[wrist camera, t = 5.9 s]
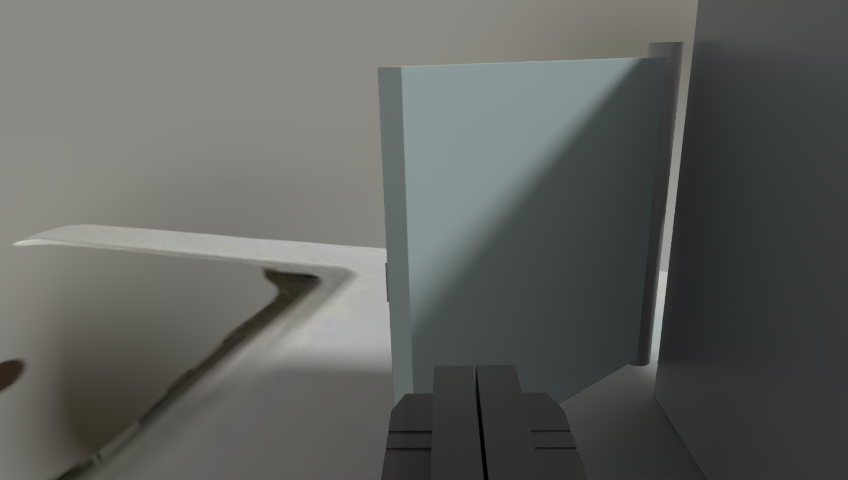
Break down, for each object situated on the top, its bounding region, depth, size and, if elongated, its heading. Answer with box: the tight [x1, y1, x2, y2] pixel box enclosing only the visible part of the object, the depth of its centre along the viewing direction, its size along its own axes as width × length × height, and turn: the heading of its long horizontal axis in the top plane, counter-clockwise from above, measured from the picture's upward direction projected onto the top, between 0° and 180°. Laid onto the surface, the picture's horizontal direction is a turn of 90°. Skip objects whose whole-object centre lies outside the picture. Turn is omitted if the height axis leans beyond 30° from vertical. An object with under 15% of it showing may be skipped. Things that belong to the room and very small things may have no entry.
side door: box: [378, 42, 684, 407], centre depth 19 cm, size 2×13×13 cm, turn 128°
